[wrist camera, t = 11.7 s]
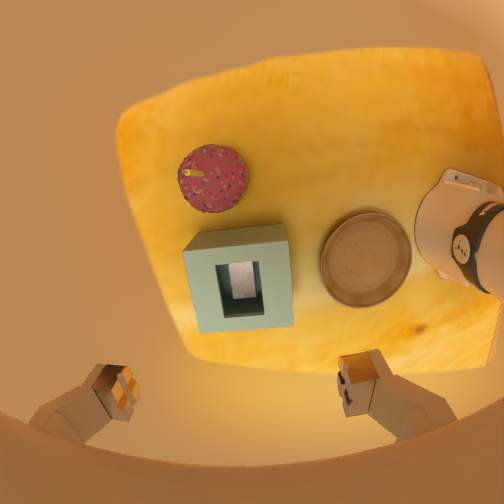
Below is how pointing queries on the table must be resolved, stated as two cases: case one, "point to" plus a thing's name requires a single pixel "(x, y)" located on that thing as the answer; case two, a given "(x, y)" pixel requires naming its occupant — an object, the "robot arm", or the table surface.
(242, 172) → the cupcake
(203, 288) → the coin box
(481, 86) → the table surface
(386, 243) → the plant saucer
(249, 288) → the block
